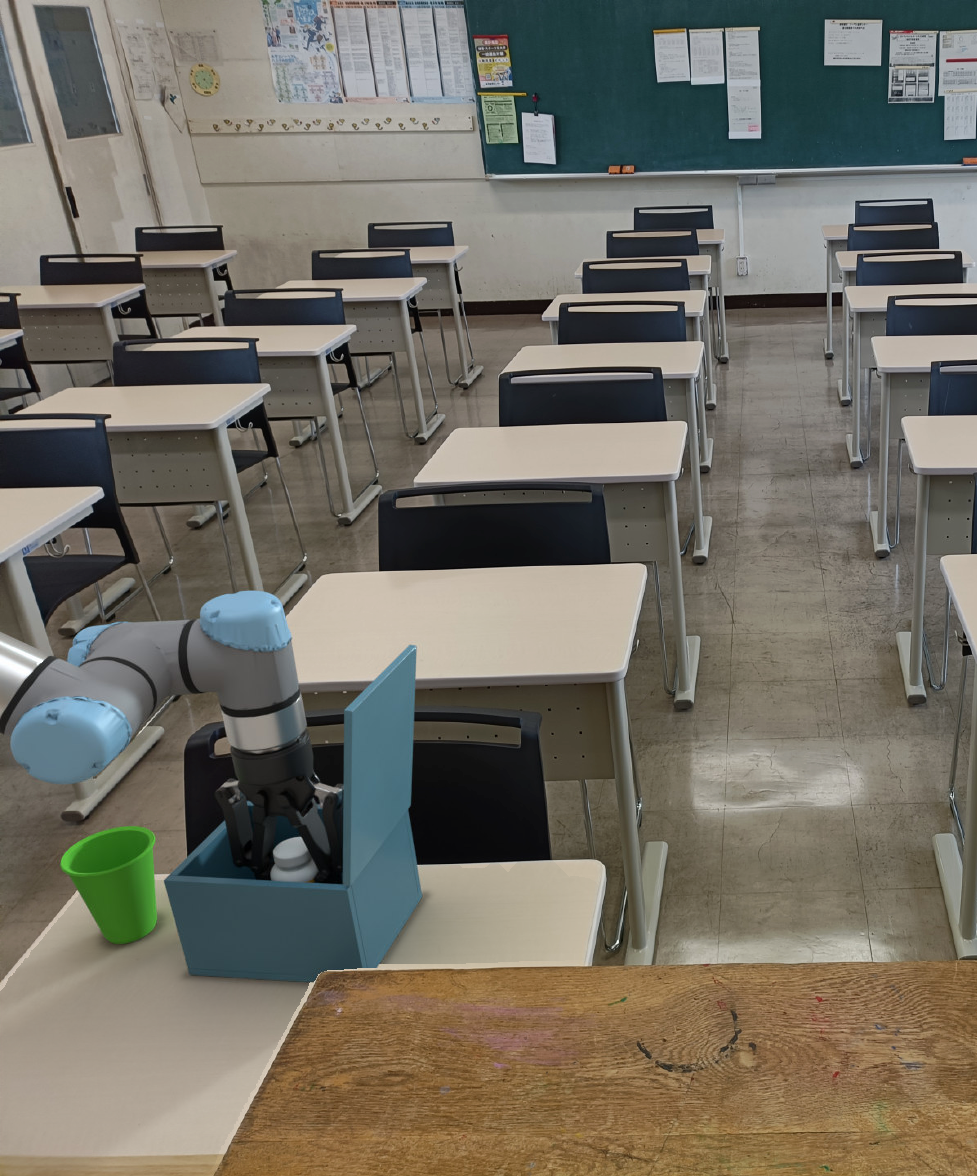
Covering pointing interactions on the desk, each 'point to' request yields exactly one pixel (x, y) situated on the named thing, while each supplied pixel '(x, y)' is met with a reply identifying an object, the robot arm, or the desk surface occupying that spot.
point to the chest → (290, 911)
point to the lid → (377, 762)
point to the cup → (116, 880)
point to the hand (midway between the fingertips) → (306, 916)
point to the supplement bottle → (293, 862)
